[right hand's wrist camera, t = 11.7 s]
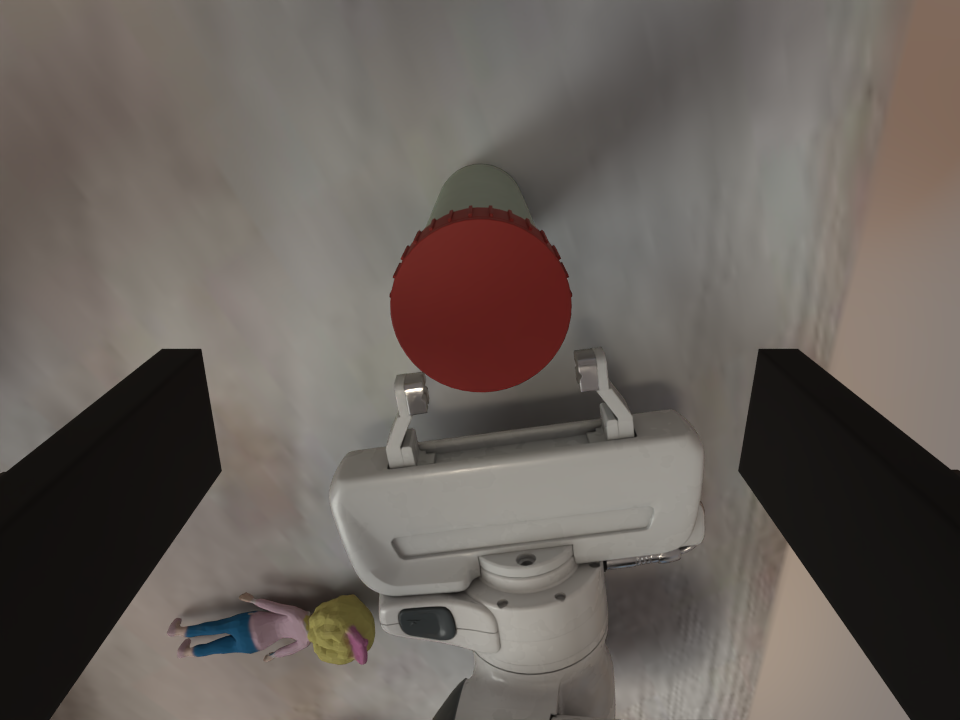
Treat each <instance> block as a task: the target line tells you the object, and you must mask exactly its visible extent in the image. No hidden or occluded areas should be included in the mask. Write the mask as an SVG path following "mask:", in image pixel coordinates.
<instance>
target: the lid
mask: <svg viewBox="0 0 960 720" xmlns="http://www.w3.org/2000/svg"><path fill="white" fill-rule="evenodd" d="M560 259H561V257H560V255H559V253H558V251H557V249H556V247H555V246H554V245H553V246H551V244H550V243H549V241H548V239H547V237H546V235H545V233H544V231H543V230H541V231H539V230H538V229H537V228H536V227H534V226H533V225H532V224H531V223H530V220H529V219H528V218H526V219H523V218H521V217H519V216H517V215H515V214H513V213H512V210H508V212H507V211H504V210H500V209H495V208H493V207H492V206H491V205H489V208H486V207H475V208H473V207H472V205H471V206H469V208H466V209H462V210H458V211H453V210H450V211H449V214H447V215H444V216H443V217H441V218H439V219H437V220H436V219H435V218H434V219H433V220H432V221H431V224H430V225H429V226H427V227H426V228H425V229H424V230H423V231H422V232H421V231H420V230H419V231H418V232H417V234H416V236H415V239H414V241H413V243H412V244H411V246H407V247H406V249H405V251H404V253H403V255H402V257H401V260H403V261H402V263H399V265H398V267H397V269H396V271H395V273H394V275H393V278H395V279H394V283H393V287H392V291H391V293H390V298H391V301H390V307H391V318H392V324H393V328H394V331H395V334H396V337H397V339H398V341H399V343H400V345H401V347H402V349H403V350H404V352H405V353H406V355H407V356H408V357H409V359H410V360H411V361H412V362H413V363H414V364H415V365H416V366H417V367H418V368H419V369H420V370H421V371H422V372H424V373H425V374H426V375H428V376H429V377H430V378H432V379H434V380H436V381H438V382H439V383H441V384H444V385H446V386H449V387H451V388H455V389H459V390H463V391H470V392H492V391H499V390H503V389H507V388H510V387H513V386H516V385H518V384H520V383H522V382H524V381H526V380H528V379H530V378H531V377H533V376H534V375H536V374H537V373H538V372H539V371H541V370H542V369H543V368H544V367H545V366H546V365H547V364H548V363H549V362H550V361H551V360H552V359H553V357H554V356H555V354H556V353H557V352H558V350H559V349H560V347H561V345H562V343H563V341H564V339H565V336H566V334H567V331H568V328H569V323H570V319H571V308H572V304H571V297H572V293H571V290H570V287H569V283H568V280H567V278H568V277H569V276H568V273H567V271H566V269H565V267H564V265H563V263H562V262H561V263H560V261H559V260H560Z"/></svg>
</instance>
